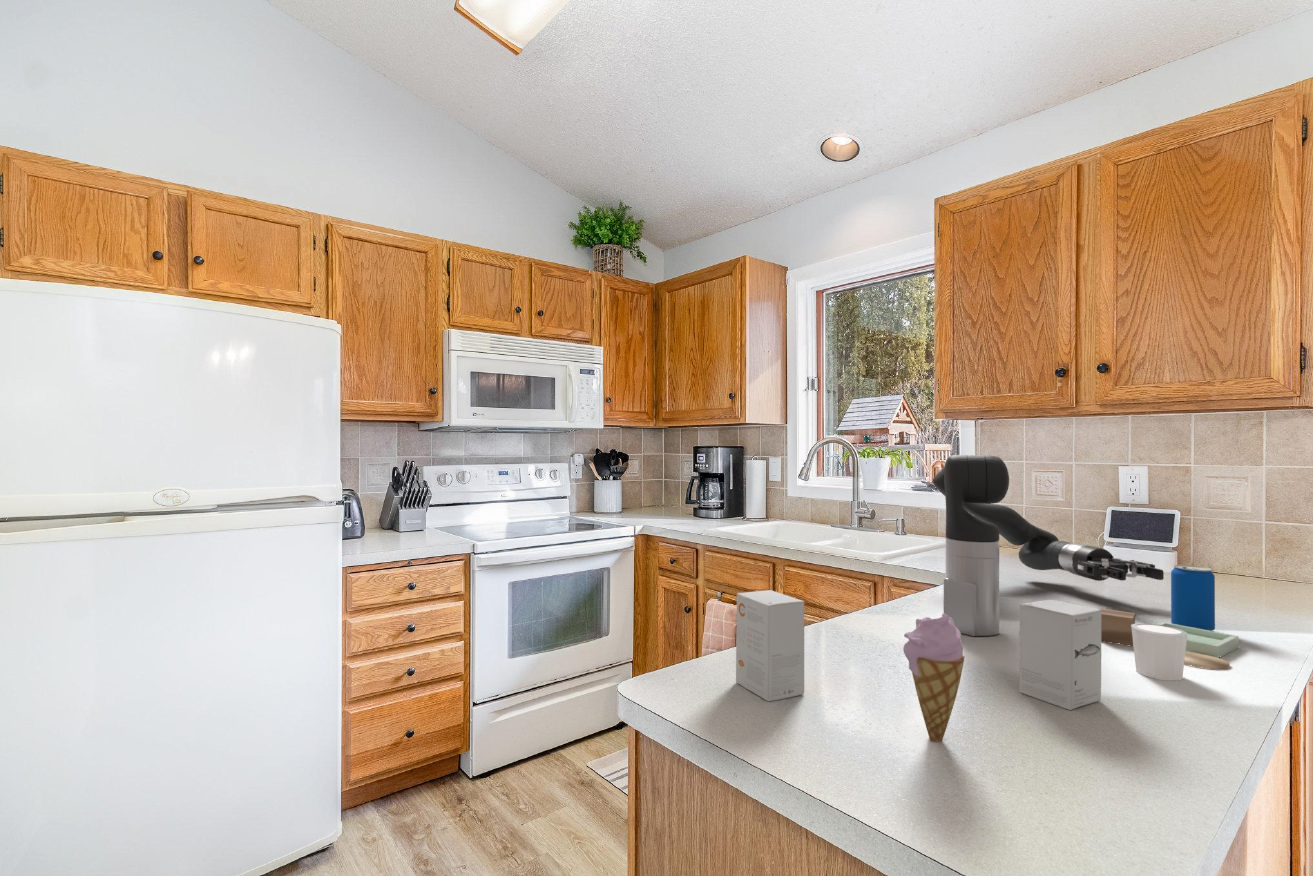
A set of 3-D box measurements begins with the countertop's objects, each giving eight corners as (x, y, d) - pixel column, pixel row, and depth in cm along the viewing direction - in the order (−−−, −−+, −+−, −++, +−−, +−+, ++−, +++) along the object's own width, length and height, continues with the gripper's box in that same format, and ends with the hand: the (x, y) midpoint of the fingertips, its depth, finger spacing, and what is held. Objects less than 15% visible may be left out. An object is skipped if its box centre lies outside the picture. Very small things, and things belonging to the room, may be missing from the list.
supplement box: (1072, 712, 83) (1071, 615, 83) (1017, 692, 90) (1017, 602, 90) (1103, 702, 86) (1103, 609, 87) (1048, 684, 93) (1048, 597, 93)
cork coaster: (1220, 675, 99) (1220, 670, 99) (1157, 660, 105) (1157, 656, 105) (1236, 666, 103) (1236, 661, 103) (1175, 652, 110) (1175, 648, 110)
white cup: (1179, 670, 99) (1179, 625, 99) (1194, 685, 93) (1194, 637, 93) (1125, 664, 102) (1125, 620, 102) (1137, 678, 96) (1137, 631, 96)
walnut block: (1132, 647, 112) (1132, 618, 112) (1098, 641, 115) (1098, 613, 115) (1135, 640, 115) (1135, 613, 116) (1101, 635, 119) (1101, 608, 119)
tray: (1217, 658, 105) (1217, 646, 105) (1138, 641, 114) (1138, 630, 115) (1238, 647, 112) (1238, 636, 112) (1162, 632, 121) (1162, 621, 121)
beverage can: (1198, 625, 126) (1198, 564, 126) (1224, 635, 119) (1223, 571, 119) (1163, 624, 126) (1162, 564, 127) (1186, 633, 120) (1186, 570, 120)
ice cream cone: (932, 756, 70) (933, 620, 71) (891, 733, 76) (891, 607, 76) (975, 745, 73) (975, 615, 73) (932, 724, 79) (932, 602, 79)
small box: (805, 695, 88) (806, 600, 88) (767, 702, 85) (768, 605, 85) (770, 676, 95) (771, 588, 95) (734, 682, 92) (735, 592, 93)
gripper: (1114, 576, 151) (1174, 592, 135) (1057, 577, 150) (1111, 593, 134) (1114, 545, 151) (1174, 557, 135) (1057, 545, 150) (1111, 558, 134)
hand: (1143, 575), depth 135 cm, fingers open, 8 cm apart
